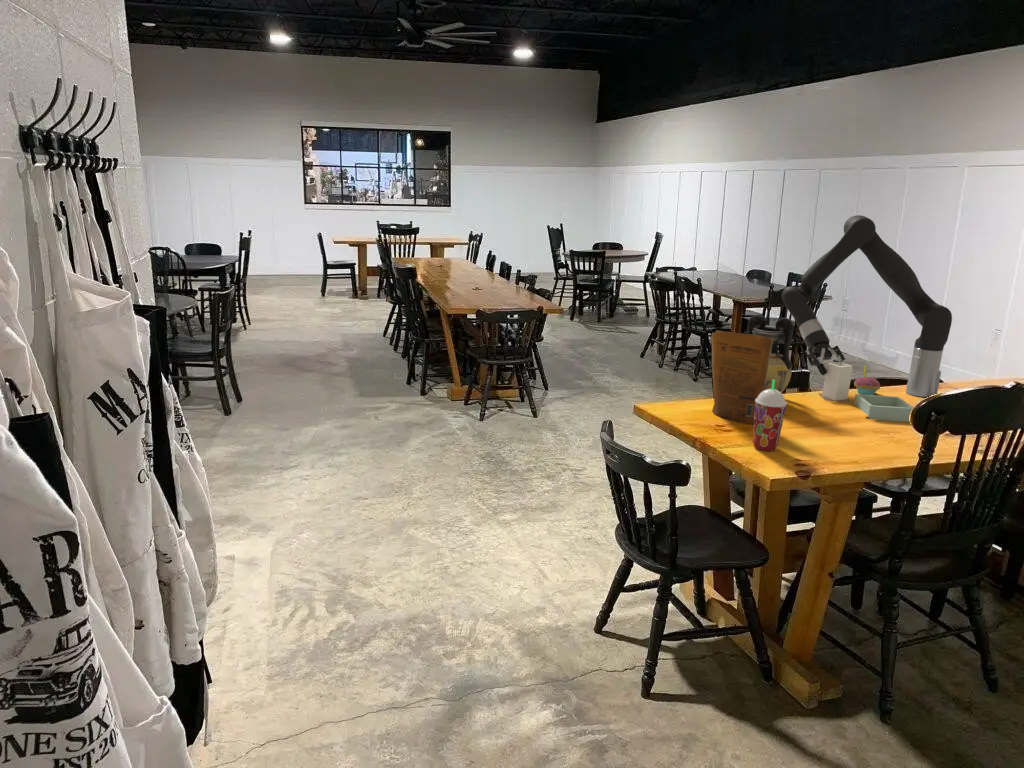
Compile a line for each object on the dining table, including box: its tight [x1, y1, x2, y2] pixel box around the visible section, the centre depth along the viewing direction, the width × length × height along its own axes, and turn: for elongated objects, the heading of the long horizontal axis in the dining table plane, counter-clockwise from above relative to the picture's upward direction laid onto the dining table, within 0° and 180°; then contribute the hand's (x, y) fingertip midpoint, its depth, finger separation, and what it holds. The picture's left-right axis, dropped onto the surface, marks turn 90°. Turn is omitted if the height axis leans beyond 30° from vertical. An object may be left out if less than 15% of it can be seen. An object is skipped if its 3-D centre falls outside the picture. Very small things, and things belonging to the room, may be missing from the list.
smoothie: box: [752, 379, 788, 452], centre depth 203 cm, size 8×8×20 cm
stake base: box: [817, 392, 853, 403], centre depth 254 cm, size 9×9×9 cm
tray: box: [853, 393, 915, 423], centre depth 241 cm, size 14×14×4 cm
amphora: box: [746, 314, 795, 394], centre depth 247 cm, size 18×17×30 cm
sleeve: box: [821, 362, 854, 402], centre depth 253 cm, size 6×6×12 cm
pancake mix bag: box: [710, 330, 773, 425], centre depth 227 cm, size 7×19×28 cm, turn 46°
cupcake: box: [853, 365, 881, 395], centre depth 261 cm, size 9×8×12 cm
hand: (834, 373), depth 254 cm, fingers open, 8 cm apart
